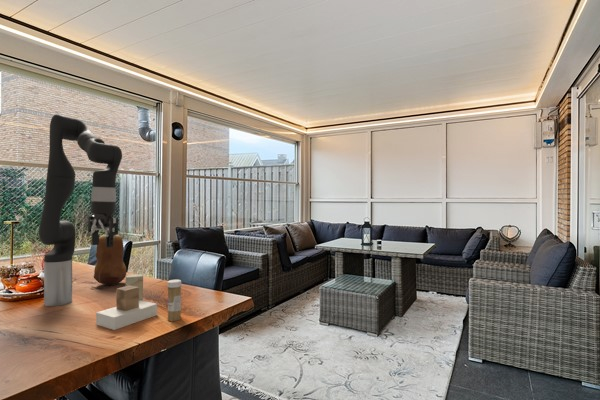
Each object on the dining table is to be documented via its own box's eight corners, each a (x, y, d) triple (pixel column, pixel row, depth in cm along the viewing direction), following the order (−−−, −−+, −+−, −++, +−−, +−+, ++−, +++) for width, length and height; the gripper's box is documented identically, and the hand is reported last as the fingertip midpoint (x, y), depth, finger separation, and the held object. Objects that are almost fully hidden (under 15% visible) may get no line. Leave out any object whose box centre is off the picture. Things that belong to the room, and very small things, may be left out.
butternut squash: (121, 279, 174) (120, 232, 174) (130, 284, 164) (130, 233, 164) (90, 284, 164) (90, 234, 164) (98, 289, 154) (98, 236, 154)
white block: (96, 324, 111) (96, 312, 111) (139, 310, 125) (139, 299, 125) (114, 330, 106) (114, 317, 106) (157, 314, 120) (157, 303, 120)
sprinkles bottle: (164, 319, 116) (164, 280, 116) (177, 316, 119) (177, 278, 119) (171, 322, 112) (171, 282, 113) (183, 319, 116) (183, 280, 116)
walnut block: (116, 308, 115) (116, 288, 115) (130, 304, 119) (129, 285, 119) (125, 311, 112) (125, 290, 112) (138, 307, 116) (138, 287, 117)
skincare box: (125, 309, 126) (125, 277, 126) (125, 306, 130) (125, 275, 130) (143, 307, 129) (143, 275, 129) (143, 303, 133) (142, 273, 133)
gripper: (126, 201, 117) (124, 247, 117) (102, 199, 124) (101, 243, 124) (104, 200, 111) (103, 249, 111) (81, 199, 118) (79, 245, 118)
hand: (102, 246), depth 117 cm, fingers open, 8 cm apart
